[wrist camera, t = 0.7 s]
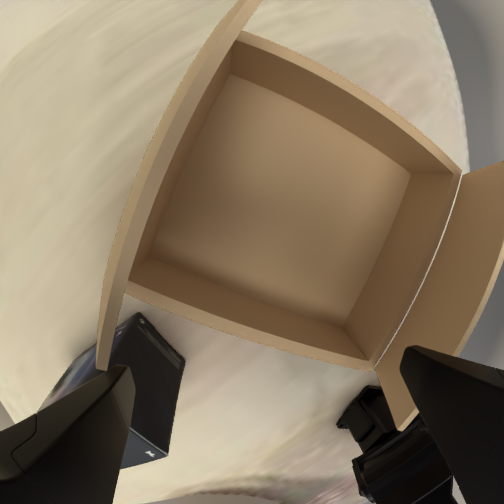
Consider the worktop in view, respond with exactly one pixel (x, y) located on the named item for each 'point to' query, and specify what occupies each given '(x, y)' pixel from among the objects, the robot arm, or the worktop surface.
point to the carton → (295, 210)
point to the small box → (136, 386)
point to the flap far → (451, 284)
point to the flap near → (161, 169)
